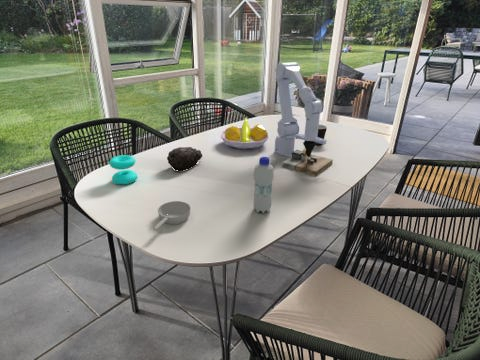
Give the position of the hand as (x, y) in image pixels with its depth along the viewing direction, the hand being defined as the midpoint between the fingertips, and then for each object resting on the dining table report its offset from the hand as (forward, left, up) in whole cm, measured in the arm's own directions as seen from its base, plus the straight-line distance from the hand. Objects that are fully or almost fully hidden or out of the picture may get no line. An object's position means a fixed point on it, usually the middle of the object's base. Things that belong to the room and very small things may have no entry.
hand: (308, 156), depth 151 cm
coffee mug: (-11, +32, -5) cm, 34 cm away
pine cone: (-44, -37, -5) cm, 58 cm away
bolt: (-5, 0, -2) cm, 5 cm away
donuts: (-52, -64, -5) cm, 82 cm away
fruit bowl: (-41, +5, -5) cm, 41 cm away
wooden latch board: (0, 0, -4) cm, 4 cm away
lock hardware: (-2, 0, -2) cm, 3 cm away
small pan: (-13, -74, -5) cm, 75 cm away
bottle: (+6, -48, -5) cm, 49 cm away
